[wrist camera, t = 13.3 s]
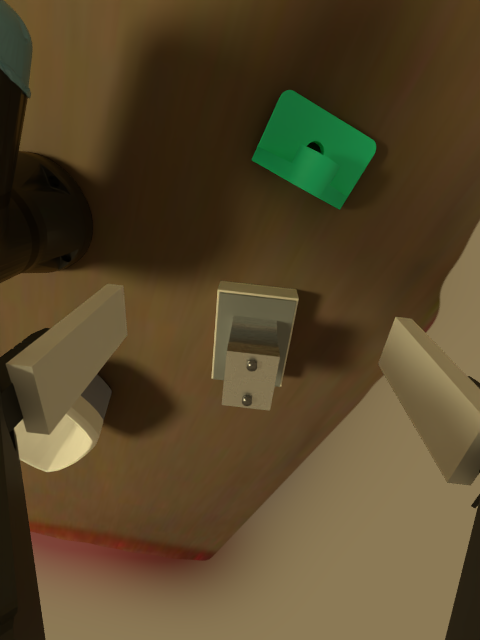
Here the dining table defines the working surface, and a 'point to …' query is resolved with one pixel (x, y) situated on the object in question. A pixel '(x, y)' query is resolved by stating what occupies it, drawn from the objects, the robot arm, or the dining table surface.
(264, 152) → the camera mount
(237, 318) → the housing
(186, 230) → the dining table surface
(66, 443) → the bowl
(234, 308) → the plinth
